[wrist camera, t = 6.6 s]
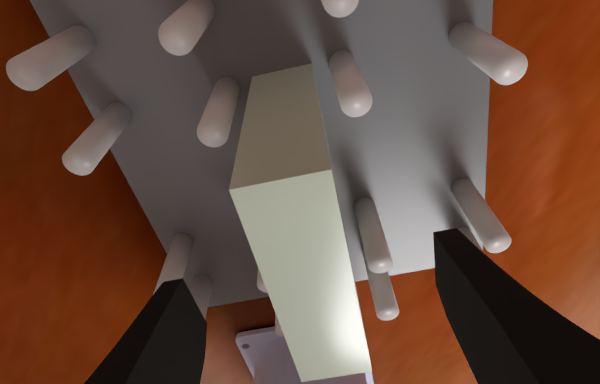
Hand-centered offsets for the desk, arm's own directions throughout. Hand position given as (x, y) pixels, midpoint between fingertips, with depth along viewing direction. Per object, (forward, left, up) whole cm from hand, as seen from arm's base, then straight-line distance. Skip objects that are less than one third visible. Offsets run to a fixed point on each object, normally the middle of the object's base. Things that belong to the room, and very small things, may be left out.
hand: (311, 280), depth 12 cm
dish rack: (0, 0, -9) cm, 9 cm away
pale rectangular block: (0, 0, -8) cm, 8 cm away
